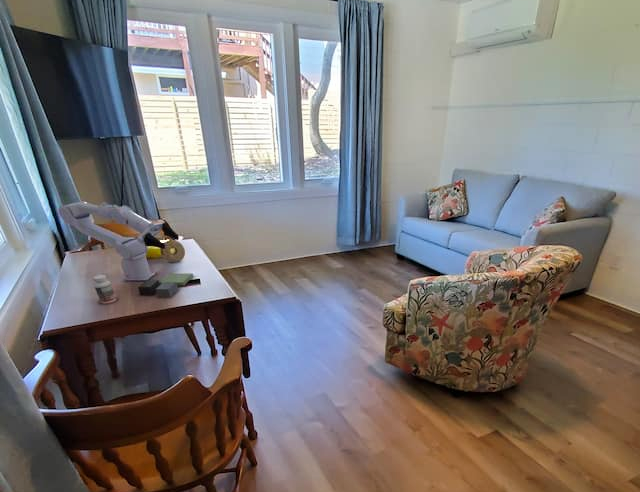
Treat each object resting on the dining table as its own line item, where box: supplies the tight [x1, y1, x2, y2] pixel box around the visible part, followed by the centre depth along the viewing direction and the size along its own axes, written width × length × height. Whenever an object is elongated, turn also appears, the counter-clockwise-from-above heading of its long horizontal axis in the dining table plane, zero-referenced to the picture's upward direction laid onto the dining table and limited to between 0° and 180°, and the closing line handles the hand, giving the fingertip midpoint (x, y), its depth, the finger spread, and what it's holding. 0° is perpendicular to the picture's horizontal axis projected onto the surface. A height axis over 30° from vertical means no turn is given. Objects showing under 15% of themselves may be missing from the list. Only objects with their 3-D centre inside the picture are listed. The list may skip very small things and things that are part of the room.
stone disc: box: [160, 239, 186, 263], centre depth 185 cm, size 10×4×10 cm, turn 119°
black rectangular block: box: [137, 279, 160, 296], centre depth 157 cm, size 5×7×3 cm
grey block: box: [156, 282, 179, 298], centre depth 155 cm, size 5×7×3 cm
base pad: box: [159, 272, 194, 287], centre depth 167 cm, size 10×10×1 cm
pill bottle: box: [92, 274, 117, 304], centre depth 148 cm, size 5×5×10 cm
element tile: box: [145, 239, 175, 260], centre depth 197 cm, size 15×15×5 cm
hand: (171, 242), depth 156 cm, fingers open, 7 cm apart
